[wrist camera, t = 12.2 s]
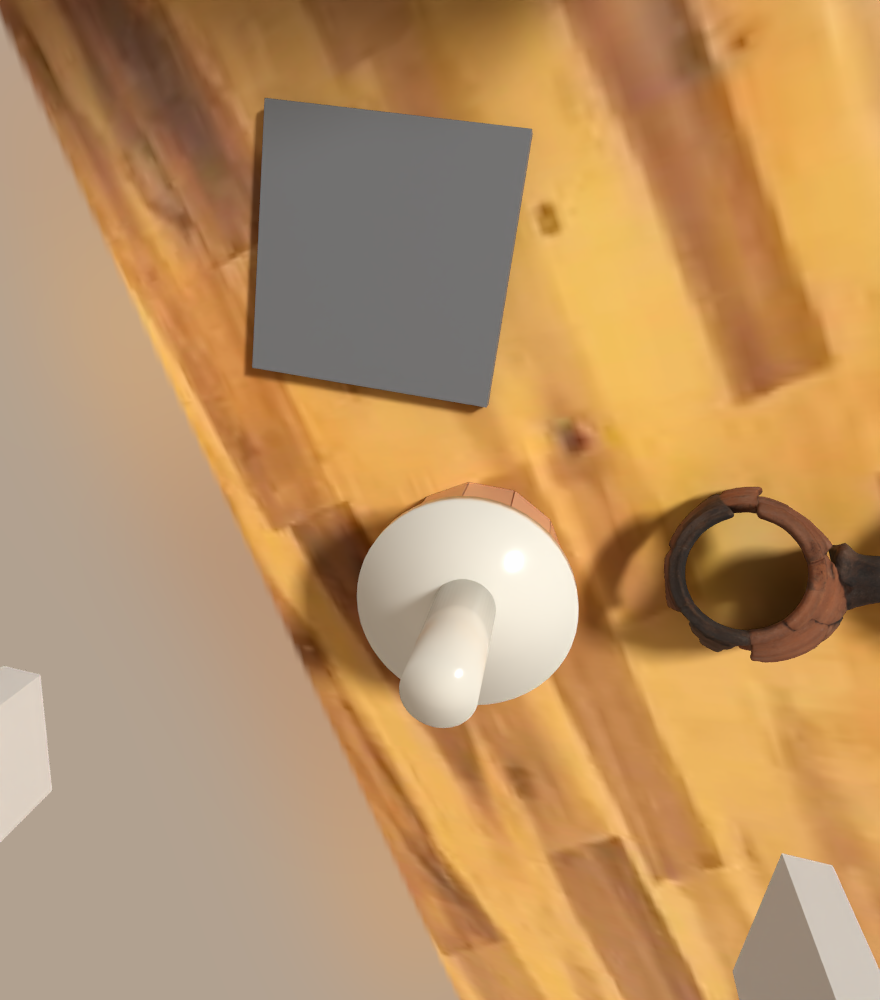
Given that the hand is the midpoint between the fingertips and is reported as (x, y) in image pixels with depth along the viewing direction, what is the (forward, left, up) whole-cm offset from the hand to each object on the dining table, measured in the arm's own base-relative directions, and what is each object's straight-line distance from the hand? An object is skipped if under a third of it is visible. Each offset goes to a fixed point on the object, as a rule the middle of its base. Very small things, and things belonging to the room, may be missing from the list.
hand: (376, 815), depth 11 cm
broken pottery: (+4, +16, -29) cm, 33 cm away
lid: (+7, 0, -24) cm, 25 cm away
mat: (-10, -8, -29) cm, 31 cm away
